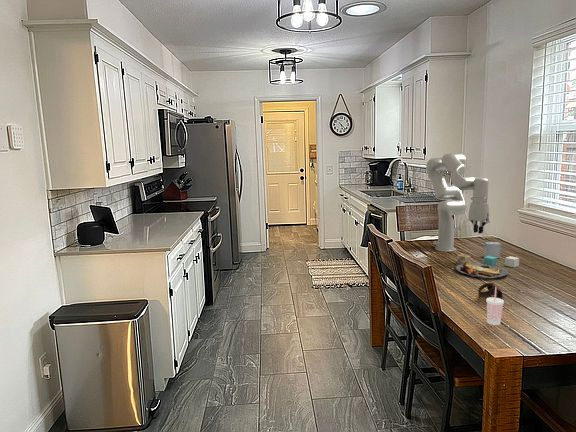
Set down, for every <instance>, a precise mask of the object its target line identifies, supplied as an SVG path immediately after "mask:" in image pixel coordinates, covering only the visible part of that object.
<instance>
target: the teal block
mask: <svg viewBox="0 0 576 432" xmlns="http://www.w3.org/2000/svg"><path fill="white" fill-rule="evenodd" d="M482 260H483V263H482V264H484V265H485V264H488V265H494V266H496V267H497V265H498V258H497V257H492V256H486V257H484V256H483V259H482Z"/></svg>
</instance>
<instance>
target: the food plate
mask: <svg viewBox="0 0 576 432" xmlns="http://www.w3.org/2000/svg"><path fill="white" fill-rule="evenodd" d="M454 269H455V271H456V272H458V273H459V272H460V273H461V274H465V275H467V276H469V277H471V278H479V279H481V278H483V279H494V278H502V277H504V276H506V275H508V274H509V272H508V270H506V269H505V268H503V267H500V266H497V265H496V266H494V265H488V264H485V265H484V264H483V263H478V262H477V263H474V262H470V263H469V262H465V263H464V264H457V265H455V266H454ZM477 272H478V273H477ZM478 275H479V276H478ZM489 276H490V277H489Z"/></svg>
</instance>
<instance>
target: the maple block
mask: <svg viewBox="0 0 576 432" xmlns="http://www.w3.org/2000/svg"><path fill="white" fill-rule="evenodd" d="M456 257H457V258H456V263H457V264H458V265H460V264H464V263H465V262H469V263H471V255H468V254H464V253H462V254H458V255H457V256H456Z"/></svg>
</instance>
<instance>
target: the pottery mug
mask: <svg viewBox="0 0 576 432" xmlns="http://www.w3.org/2000/svg"><path fill="white" fill-rule="evenodd" d="M495 287H497V288H496V298H500V299H502V300H504V295H503V293H502V290H501V289H500V288H499V286H498V285H495V283H494V282H487V283H484V284H481V286H480V285H479V287H478V290H477V292H478V295H477V296H478V298H479V299H482V298H486V299H487V298H489V297H492V296H495ZM485 288H487V290H486V291H482V290H483V289H485Z"/></svg>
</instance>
